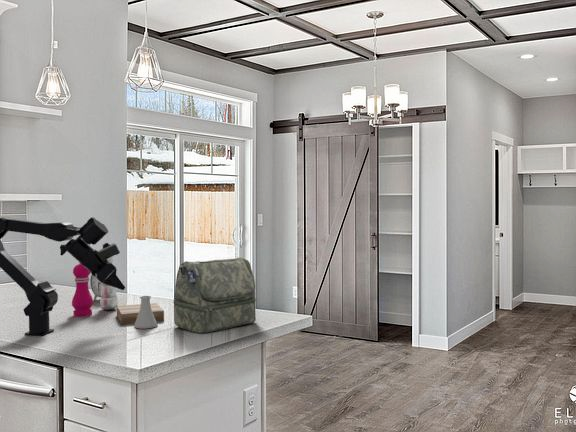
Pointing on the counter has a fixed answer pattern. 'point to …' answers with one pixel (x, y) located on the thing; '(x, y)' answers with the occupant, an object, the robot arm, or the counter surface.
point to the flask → (145, 315)
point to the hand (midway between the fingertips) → (121, 287)
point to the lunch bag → (214, 295)
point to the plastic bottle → (108, 294)
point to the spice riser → (130, 313)
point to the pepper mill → (82, 292)
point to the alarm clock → (95, 286)
